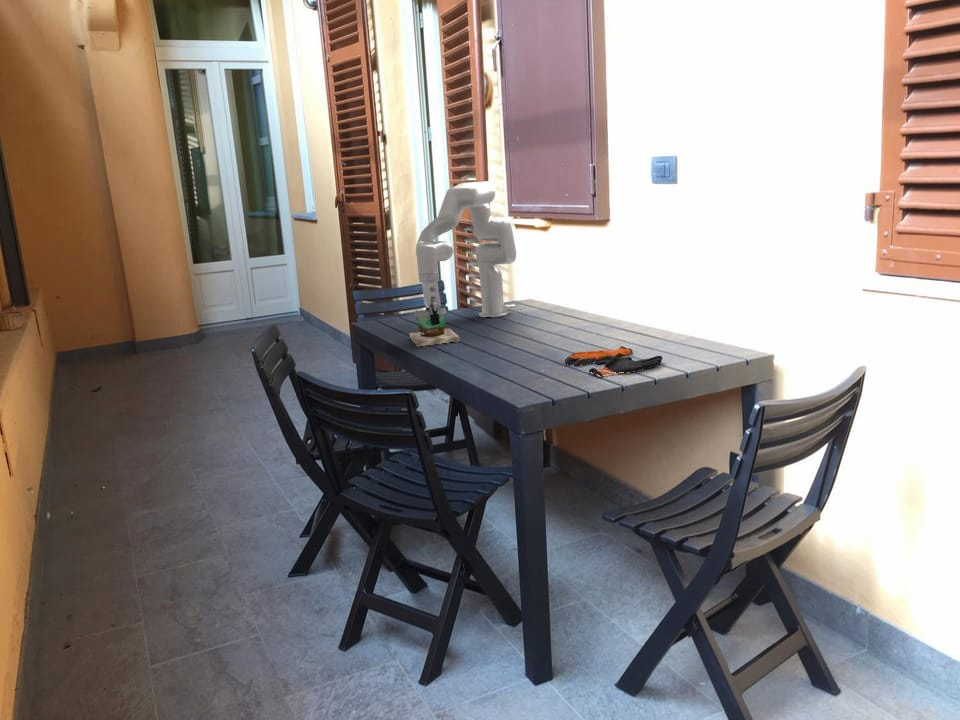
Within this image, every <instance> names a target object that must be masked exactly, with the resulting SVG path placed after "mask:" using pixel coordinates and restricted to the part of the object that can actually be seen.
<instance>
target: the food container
mask: <svg viewBox="0 0 960 720" xmlns="http://www.w3.org/2000/svg"><path fill="white" fill-rule="evenodd" d="M438 312H439V321H440V324H437V325H431V318H430V314H431V312H430V310H427V311H426V310H415V311H414V316H415V317H416V320H417V325H418V330H419V331H418V332H420V336H423V337H434V336H440V335H443V334H444V329H445V322H446V321H445V317H446V316H445V315H446V314H447V310H446V308H445V306H443V308H439V309H438Z"/></svg>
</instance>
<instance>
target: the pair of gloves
mask: <svg viewBox="0 0 960 720" xmlns="http://www.w3.org/2000/svg"><path fill="white" fill-rule="evenodd" d="M629 354H632V355H634V353H633V350H632V348H630V347H629V348H627V347H625V346H623V345H622V346H621V345H620V347H618V348H617V349H613V350H611V349H610V350H608V349H607V350H604V349H603V350H590V351H580V352H579V351H578V352H574V353H572V354H570V355H569V356H567V357H566V358H565V359H564V365H565V364H566V365H567V364H568V365H569V366H571V365H570V364H574V365H573V367H574V366H580V365H585V366H587V365H586V364H589V365H591V364H590V363H593V362H595V364H598V365H601V364H600V363H605V364H604V367H603V368H601V369H596V368H594V367H592V368H590V369H589V370H588V374H590V372H592V373H594V372H595V374H598V375H600V376H603V375H606V374H614V373H609V372H604V371H599V370H607V371H610V372H616V373H619V372H624V373H627V372H632V373H634V372H633V371H638V370H641V371H643V370H642V369H645V370H647V369H651V368H650V367H652V368H655V367H658V366H659V365H660V364H661V363H662V361H663V356H661V355H655V356H653V357H649V358H644V359H638V360H633V358H632V357H631V356H630V355H629ZM624 355H625V356H624ZM620 356H622V357H620ZM659 363H660V364H659ZM566 365H565V366H566ZM654 366H655V367H654ZM580 367H581V366H580ZM646 368H647V369H646ZM638 372H639V371H638ZM595 374H594V375H595Z"/></svg>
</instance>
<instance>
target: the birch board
mask: <svg viewBox="0 0 960 720" xmlns="http://www.w3.org/2000/svg"><path fill="white" fill-rule="evenodd" d="M410 338H411V339H410ZM409 339H410V340H411V341H412V343H413V344H414V343H415V344H416V345H415V344H414V345H415V346H416V347H417V348H421V347H420V346H423V347H426V346H425V345H431V346H435V345H434V344H439V345H443V344H442V343H447V344H450V343H449V342H456V343H460V342H459V341H461V339H460V336H459V335H458V334H457V333H455V331H453V330H452V329H451V328H450V327H449V328H444V334H443V335H440V336H434V337H423V336H420V331H418V332H410V333H409Z"/></svg>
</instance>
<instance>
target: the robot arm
mask: <svg viewBox="0 0 960 720" xmlns="http://www.w3.org/2000/svg"><path fill="white" fill-rule="evenodd" d="M495 196H496V188H495V186H494V184H493V183H492V182H491V181H474V182H473V181H472V182H462V183H458V184H456V185H455V186H451V187H449V188H448V189H447V190H446V192H445V196H444V198H443V201H442V203H441V206H440V209H439V212H438V215H437V217H436V218H434V219H433V220H432V221H430V222H429V223H428V225H427V226H425V227H424V228H423V230H422V231H421V232H420V234H419V237H418V240H417V242H416V246H415V255H416V263H417V264H416V265H417V272H418V273H417V274H418V281H419V283H420V284H421V286H422V296H423V304H424V306H425V311H427V310H430V312H431V314H430V318H431V325H437V324H440V321H439V312H438V310H439V309H441V305H442V304H441V297H440V292H439V285H438V282H439V281H440V277H439V276H440V274H439V264H438V263H439V262H446V261H449V260H450V259H451V258H452V256H453V253H454V249H453V246H452V244H451V243H450V242H448V241H445V240H444V241H443V240H436V239H437V238H438V237H440V236H441V235H443V234H447V233H448V232H450V231H452V230H453V229H455V228H456V227H458V226H459V223H460V220H461V217H462V215H463V214H462V213H463V211H464V209H465V208H466V209H468V212H469V213H470V215H469V216H470V218H471V219H470V220H471V222H472V227H473V232H474V236H475V237H476V239H477V240H479V241H484V242H481V243H479V244H478V245H477V247H476V248H475V256H476V257H475V259H476V261H477V267H478V270H479V271H478V273H479V285H480V297H481V298H480V299H481V310H482V311H481V312H479V314H478V316H479V317H480V318H486V317H491V318H498V317H499V318H500V317H504V316H508V314H509V310H514V309H516V306H515V304H506V303H504V302H505V301H504V290H503V289H504V287H503V275H502V271H501V269H500V268H499V266H498V265H511V264H513V263H514V262H515V261H516V258H517V248H516V243H515V237H514V232H513V228H512V224H511V222H510V221H509V219H508V218H506V217H503V216H497V217H495V216H493V215H492V211H491V207H490V205H489V204H490V203H492V202H493V201H494V199H495ZM435 240H436V241H435ZM438 308H439V309H438Z"/></svg>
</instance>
